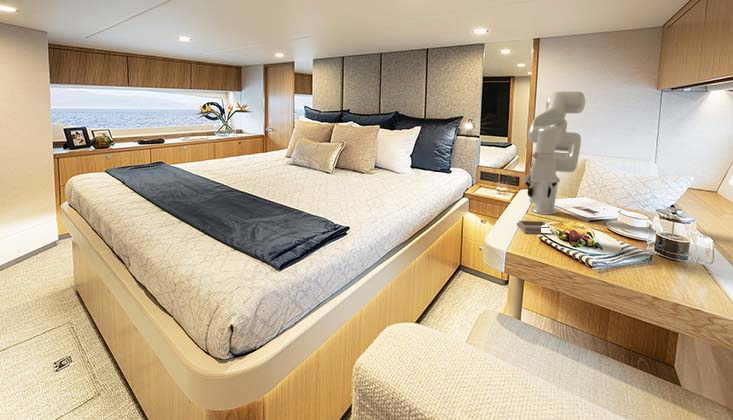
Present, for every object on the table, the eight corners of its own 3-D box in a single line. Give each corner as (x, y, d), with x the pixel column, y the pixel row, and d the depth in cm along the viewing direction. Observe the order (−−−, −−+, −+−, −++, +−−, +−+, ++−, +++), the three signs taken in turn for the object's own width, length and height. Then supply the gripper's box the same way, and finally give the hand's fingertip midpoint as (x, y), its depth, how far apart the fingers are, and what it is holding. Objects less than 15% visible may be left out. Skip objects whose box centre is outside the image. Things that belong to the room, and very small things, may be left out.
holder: (516, 224, 174) (517, 219, 173) (542, 225, 173) (543, 220, 172) (524, 233, 162) (525, 228, 162) (552, 234, 161) (553, 229, 160)
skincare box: (546, 204, 162) (550, 177, 159) (540, 205, 160) (545, 178, 157) (534, 201, 167) (537, 175, 164) (528, 202, 165) (532, 176, 162)
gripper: (526, 157, 155) (521, 198, 160) (568, 158, 153) (562, 199, 158) (520, 155, 162) (516, 194, 167) (561, 156, 161) (555, 195, 166)
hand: (538, 196), depth 163 cm, fingers closed on skincare box, 6 cm apart
